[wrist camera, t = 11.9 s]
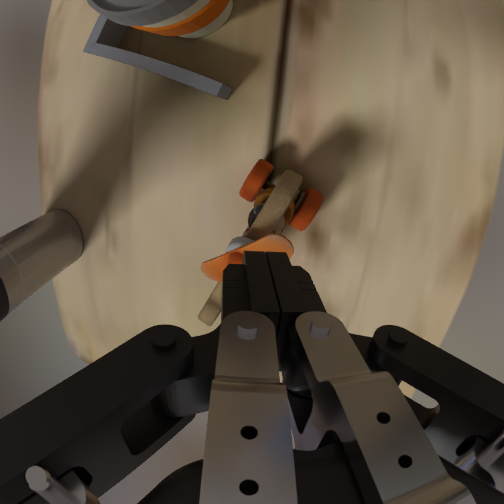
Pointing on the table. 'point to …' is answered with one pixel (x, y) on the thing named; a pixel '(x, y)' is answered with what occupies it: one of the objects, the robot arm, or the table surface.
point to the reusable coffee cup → (167, 15)
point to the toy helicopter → (263, 225)
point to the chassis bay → (145, 58)
